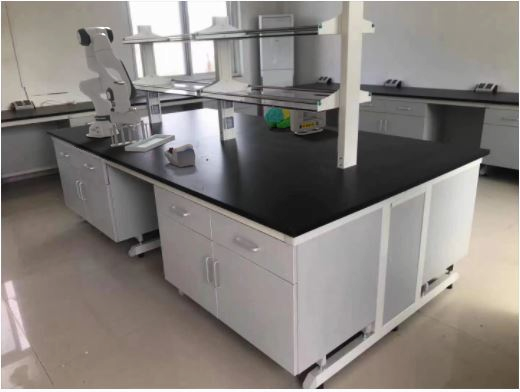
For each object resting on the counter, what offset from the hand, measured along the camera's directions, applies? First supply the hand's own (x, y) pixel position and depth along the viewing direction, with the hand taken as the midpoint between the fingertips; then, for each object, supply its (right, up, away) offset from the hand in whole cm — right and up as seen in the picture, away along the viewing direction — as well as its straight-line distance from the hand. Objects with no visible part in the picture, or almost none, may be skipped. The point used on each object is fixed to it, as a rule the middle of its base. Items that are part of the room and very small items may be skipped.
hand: (127, 130), depth 267 cm
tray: (+16, -9, -4) cm, 19 cm away
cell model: (+43, -25, -49) cm, 70 cm away
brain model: (+98, +7, +26) cm, 101 cm away
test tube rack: (+1, -8, +4) cm, 9 cm away
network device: (+114, 0, +6) cm, 115 cm away
